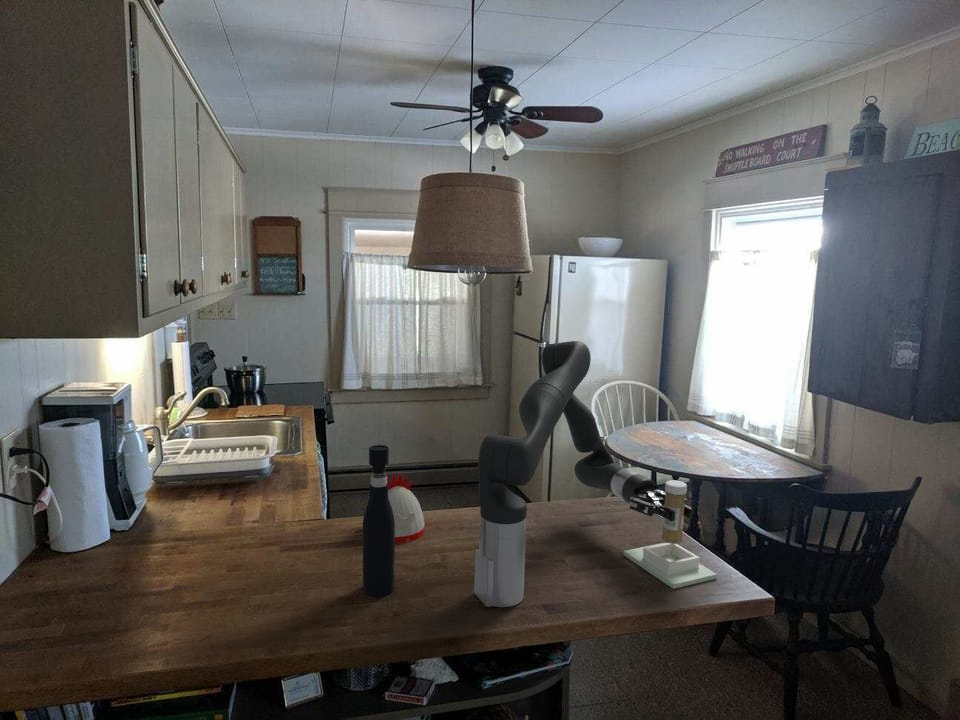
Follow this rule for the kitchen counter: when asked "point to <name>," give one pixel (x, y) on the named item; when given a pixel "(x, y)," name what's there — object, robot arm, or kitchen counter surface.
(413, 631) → the kitchen counter surface
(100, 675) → the kitchen counter surface
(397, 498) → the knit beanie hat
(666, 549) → the socket board
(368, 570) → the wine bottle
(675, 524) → the spice jar
